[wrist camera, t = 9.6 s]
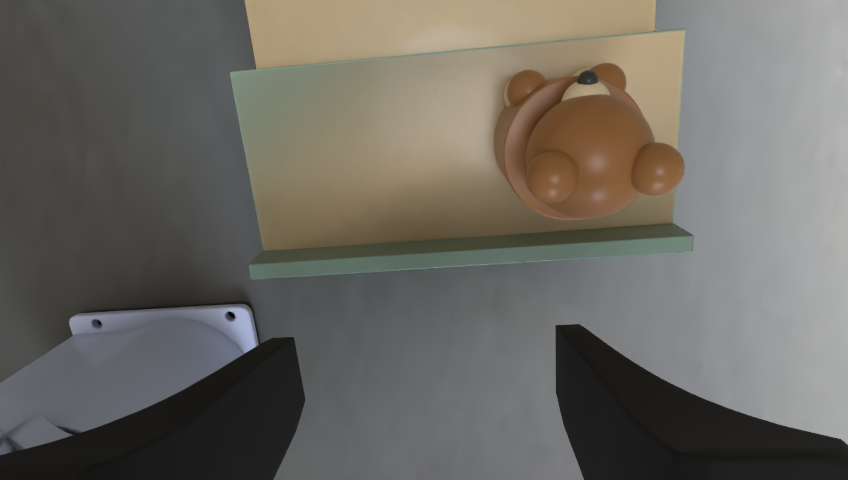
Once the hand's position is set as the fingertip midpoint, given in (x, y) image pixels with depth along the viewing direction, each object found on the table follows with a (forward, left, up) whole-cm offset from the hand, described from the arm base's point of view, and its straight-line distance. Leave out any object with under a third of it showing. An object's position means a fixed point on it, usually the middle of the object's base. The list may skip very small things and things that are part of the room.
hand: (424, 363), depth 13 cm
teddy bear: (+5, +5, -5) cm, 9 cm away
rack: (+1, +8, -10) cm, 13 cm away
